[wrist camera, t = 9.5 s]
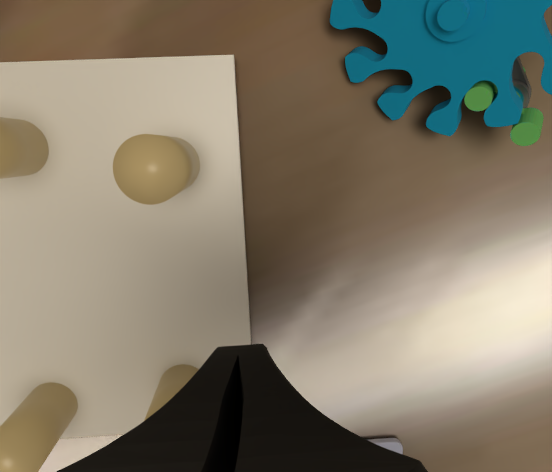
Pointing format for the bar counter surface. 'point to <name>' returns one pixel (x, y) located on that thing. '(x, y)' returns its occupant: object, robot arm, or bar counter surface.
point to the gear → (456, 57)
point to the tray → (114, 242)
